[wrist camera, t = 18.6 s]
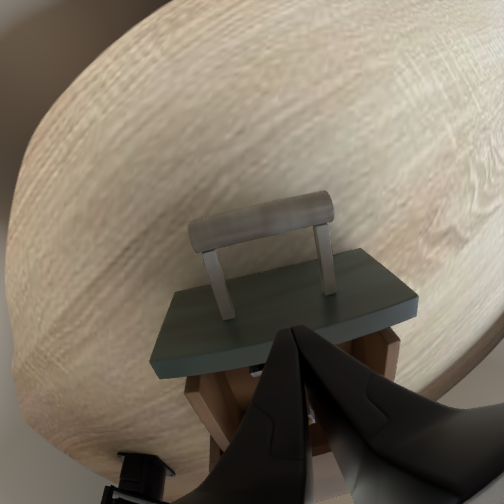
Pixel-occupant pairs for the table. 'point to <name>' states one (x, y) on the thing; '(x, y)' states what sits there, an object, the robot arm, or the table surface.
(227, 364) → the drawer
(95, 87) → the table surface
